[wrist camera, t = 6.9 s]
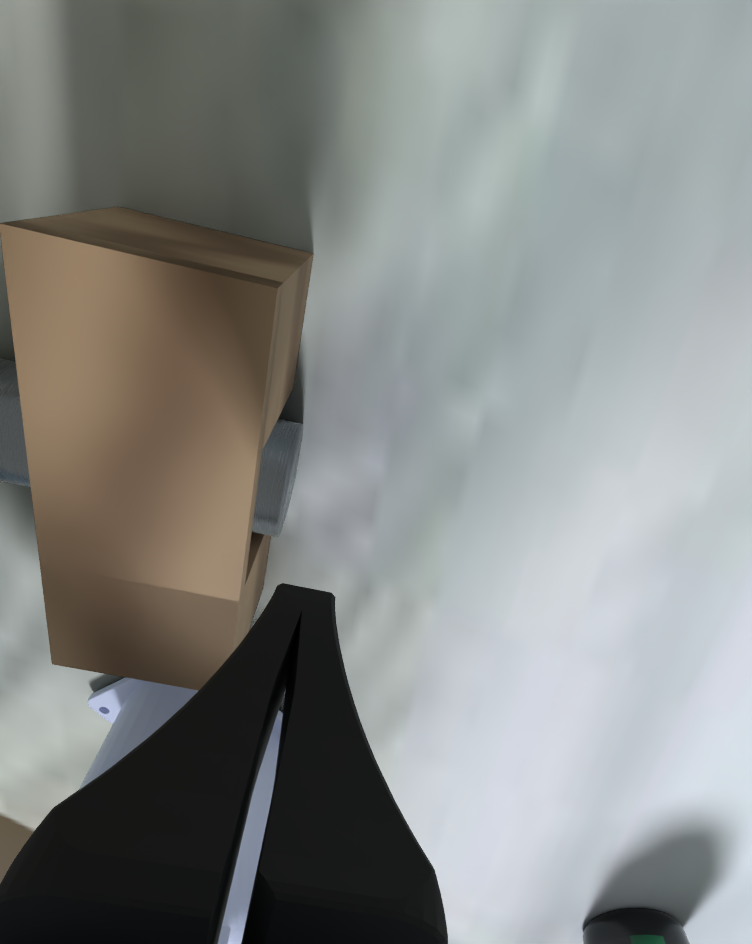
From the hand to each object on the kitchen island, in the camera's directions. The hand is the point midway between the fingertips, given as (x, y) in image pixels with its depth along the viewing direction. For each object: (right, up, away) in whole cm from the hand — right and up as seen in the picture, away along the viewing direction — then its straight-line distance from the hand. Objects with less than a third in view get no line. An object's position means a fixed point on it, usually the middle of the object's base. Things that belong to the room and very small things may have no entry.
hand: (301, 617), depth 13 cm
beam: (-5, +5, +7) cm, 10 cm away
